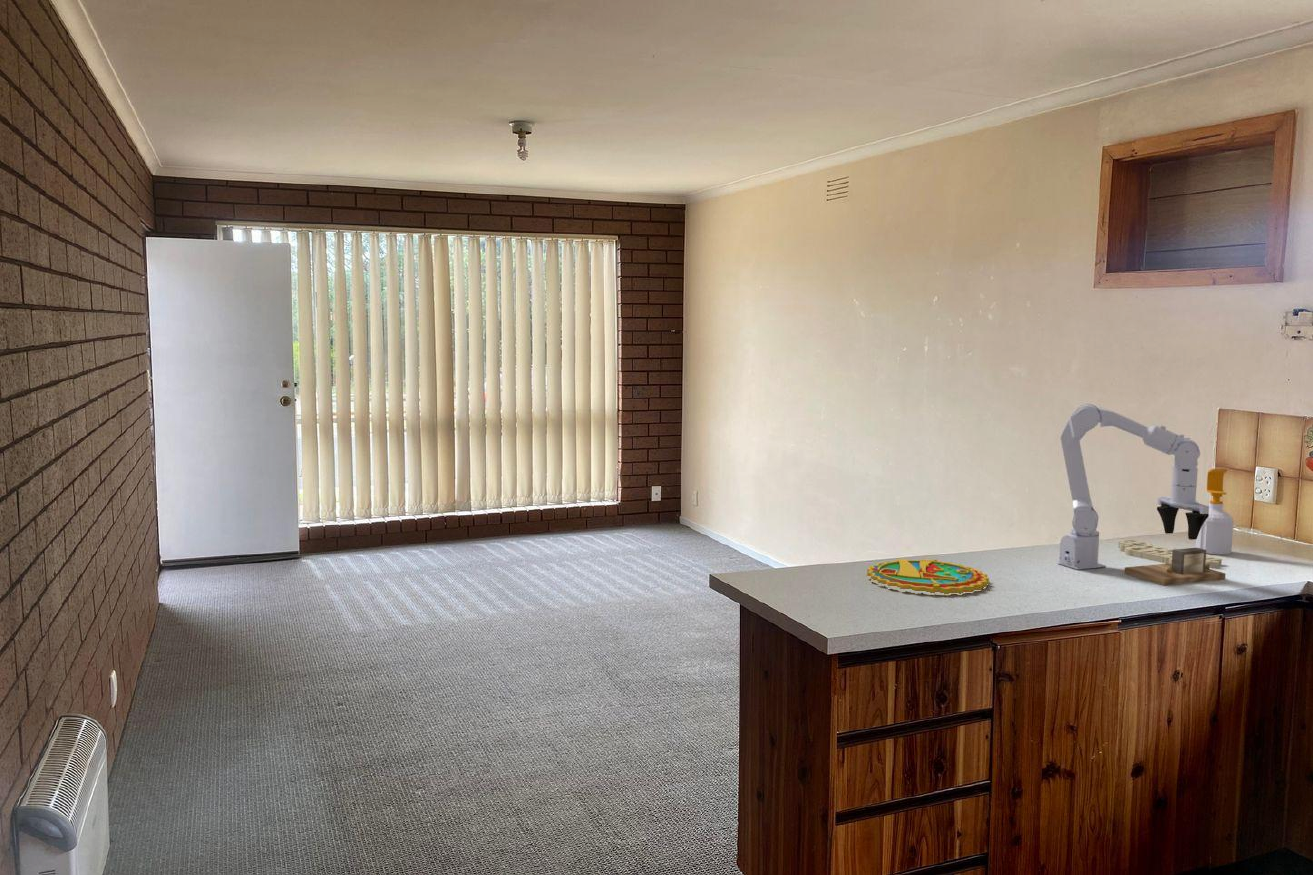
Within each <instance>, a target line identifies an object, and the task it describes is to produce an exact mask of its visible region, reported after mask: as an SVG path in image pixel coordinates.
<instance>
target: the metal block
mask: <svg viewBox="0 0 1313 875" xmlns="http://www.w3.org/2000/svg"><path fill="white" fill-rule="evenodd" d="M1173 549H1174V548H1173ZM1206 556H1207V554H1206V550H1204V549H1200V548H1195V547H1191V548H1190V547H1189V548H1188V547H1186V548H1177V549H1174V550H1173V552H1172V572H1174V573H1177V574H1191V573H1201V572H1205V563H1206Z"/></svg>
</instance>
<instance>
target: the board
mask: <svg viewBox="0 0 1313 875" xmlns="http://www.w3.org/2000/svg"><path fill="white" fill-rule="evenodd" d="M1123 570H1124V574H1125V575H1129V576H1132V577H1135V578H1138V579H1141V580H1144V581H1148V582H1151V583H1154V584H1158V585H1159V586H1160V585H1161V586H1170V585H1171V586H1172V585H1184V584H1193V583H1194V584H1195V583H1203V582H1211V581H1212V582H1213V581H1214V582H1215V581H1223V580H1226V572H1221V571H1218V570H1216V569H1215V570H1214V569H1212V568H1210V564H1209V563H1205V572H1201V573H1191V574H1177V573H1174V572H1172V563H1168V564H1166V563H1158V564H1147V565H1137V566H1135V565H1134V566H1127V567H1124V569H1123Z"/></svg>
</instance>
